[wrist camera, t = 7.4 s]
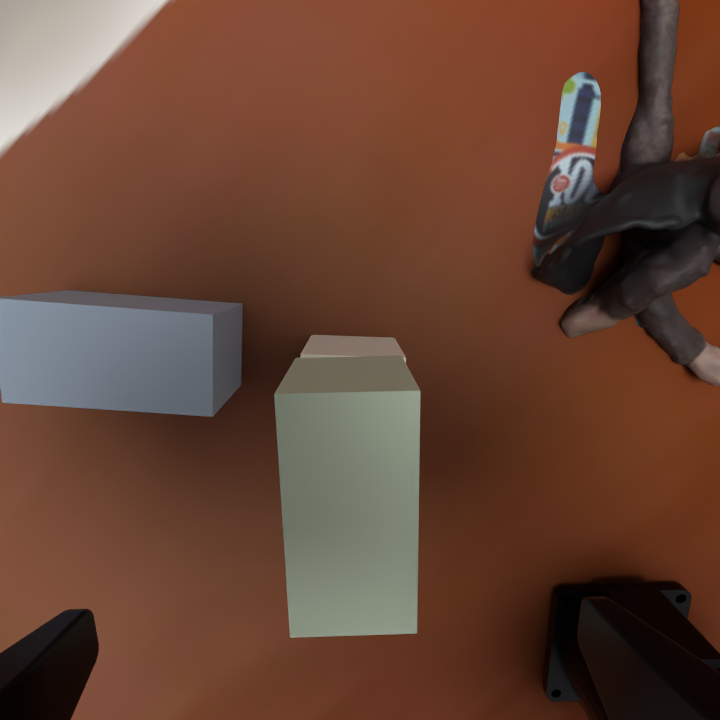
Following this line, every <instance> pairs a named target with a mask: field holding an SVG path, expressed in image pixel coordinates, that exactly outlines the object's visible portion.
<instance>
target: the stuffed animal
mask: <svg viewBox="0 0 720 720" xmlns="http://www.w3.org/2000/svg"><path fill="white" fill-rule="evenodd" d="M679 11H680V7H679V0H641V37H640V44H639V66H640V73H639V100H638V104H637V108H636V111H635V114H634V116H633V119H632V121H631V124H630V126H629V129H628V132H627V134H626V136H625V140H624V142H623V145H622V149H621V157H620V167H619V175H618V177H617V179H616V180H615V182H614V183H613V184H612V187H611V191H610V194H608V195H605V194H603V193H601V192H600V191H599V190H598V189H597V187H596V185H595V183H594V179H593V166H594V160H595V153H596V143H597V130H598V125H599V118H600V108H601V94H600V89H599V86H598V84H597V82H596V80H595V78H594V77H593V76H591V75H590V74H589V73H586V72H580V73H577V74H575V75H574V76H573V77H571V78H570V79H569V80H568V81H567V82H566V83H565V85H564V88H563V92H562V99H561V109H560V117H559V126H558V134H557V144H556V148H555V152H554V156H553V160H552V164H551V167H550V170H549V173H548V176H547V180H546V183H545V187H544V190H543V194H542V198H541V201H540V205H539V209H538V214H537V219H536V225H535V231H534V239H533V258H534V262H535V264H536V266H535V267H534V268H533V269H532V271H531V273H532V275H533V276H534V277H536V278H538V279H540V280H542V281H544V282H546V283H548V284H550V285H553V286H555V287H556V288H557V289H558V290H560V291H561V292H562V293H564V294H567V295H573V294H576V293H578V292H580V291H581V290H583V289H584V288H585V286H586V285H587V283H588V282H589V280H590V278H591V275H592V273H593V269H594V264H595V261H596V258H597V256H598V254H599V252H600V250H601V248H602V245H603V242H604V239H605V236H606V235H610V234H614V233H618V232H621V231H624V232H623V236H622V257H623V265H624V266H622V267H621V268H620V269H619V270H618V271H617V272H616V273H615V274H614V275H613V276H612V277H611V278H609V279H608V280H607V281H606V282H605V283H604V284H602V285H601V286H600V287H598V288H597V289H596V290H595V291H593V292H592V293H590V294H588V295H587V296H585V297H583V298H580V299H578V300H577V301H575V302H574V303H573V304H572V305H571V306H570V307H569V308H568V309H567V310H566V312H565V313H564V315H563V318H562V320H561V326H562V328H563V330H564V332H565V334H566V335H567V336H568V337H577V336H580V335H583V334H586V333H589V332H593V331H597V330H600V329H604V328H610V327H612V326H614V325H615V324H616V323H617V322H619V321H620V320H623V319H625V318H628V317H630V316H632V315H634V316H635V319H636V324H637V325H638V326H640V327H643V328H645V329H646V330H647V332H648V333H649V334H650V335H651V336H652V337H653V338H654V339H655V340H656V341H657V342H658V343H659V344H660V345H661V347H662V348H663V349H664V350H665V351H666V352H667V353H668V354H669V355H670V356H671V358H672V359H673V360H674V362H676V363H677V364H682V365H686V366H688V367H689V368H690V369H691V370H692V371H693V372H694V373H695V374H696V375H697V376H698V378H700V379H701V380H702V381H704V382H706V383H708V384H710V385H713V386H718V385H720V348H719V347H717V346H714V345H711V344H708V343H707V342H706V341H705V338H704V336H703V335H702V334H701V333H700V332H699V331H698V330H697V329H695V328H693V327H691V326H690V325H689V323H688V322H687V321H686V319H685V318H684V317H683V316H682V315H681V314H680V312H679V311H678V309H677V307H676V305H675V303H674V300H673V297H672V295H671V292H673V291H676V290H679V289H682V288H685V287H687V286H689V285H691V284H692V283H694V282H695V281H697V280H698V279H699V278H701V277H704V276H706V275H707V274H708V273H709V271H710V266H711V264H712V262H713V260H715V261H717V262H718V263H719V264H720V150H719V151H718V144H719V142H720V127H715V128H713V129H711V130H709V131H707V132H706V133H705V134H704V136H703V138H702V141H701V145H700V150H699V152H698V153H697V154H696V155H695V156H693V157H689V156H687V154H685V153H684V152H683V153H681V154H679V155H678V157H677V158H676V160H675V162H670V159H671V154H672V149H673V142H674V134H673V128H674V117H673V113H672V103H673V101H672V96H671V88H672V81H673V70H674V64H675V58H676V49H677V42H676V36H677V27H678V19H679Z"/></svg>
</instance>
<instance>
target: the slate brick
mask: <svg viewBox="0 0 720 720" xmlns="http://www.w3.org/2000/svg"><path fill="white" fill-rule="evenodd" d="M242 314H243V304H242V303H229V302H216V301H203V300H190V299H177V298H164V297H151V296H137V295H124V294H111V293H98V292H85V291H72V290H66V291H56V292H46V293H35V294H25V295H15V296H4V297H0V388H1V397H2V403H15V404H30V405H45V406H60V407H75V408H90V409H105V410H120V411H134V412H149V413H164V414H179V415H194V416H209V417H213V416H214V415H215V414H216V412H217V411H218V410H219V409H220V408H221V407H222V406H223V405H224V404H225V403H226V401H227V400H228V399H229V398H230V397H231V396H232V395H233V394H234V393H235V391H236V390H237V389H238V388H239V387H240V386H241V369H242Z"/></svg>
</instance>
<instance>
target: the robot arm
mask: <svg viewBox="0 0 720 720" xmlns="http://www.w3.org/2000/svg"><path fill="white" fill-rule="evenodd" d="M565 597H567V598H566V599H563V598H565ZM690 603H691V594H690V592H689V591H688V590H687V589H686V588H685V587H683V586H682V585H681V584H638V585H589V586H562V587H559V588H557V589H556V590H555V591H554V594H553V600H552V609H551V618H550V627H549V636H548V645H547V654H546V663H545V672H544V681H543V689H544V692H545V694H546V696H547V698H548V699H549V700H551V701H580V703H581V705H582V707H583V709H584V711H585V713H586V715H587V717H588V718H589V720H720V653H719V652H718V651H717V650H716V649H715V648H714V647H713V646H712V645H711V644H710V643H709V642H708V641H707V640H706V639H705V637H704V636H703V635H702V634H701V633H700V632H699V631H698V630H697V629H696V628H695V627H694V626H693V625H692V624H691V623H690V622H689V620H688V619H687V618H688V613H689V608H690ZM98 651H99V643H98V638H97V632H96V626H95V621H94V615H93V613H92V611H91V610H88V609H70V610H66V611H64V612H62V613H60V614H59V615H57V616H56V617H54V618H53V619H51V620H50V621H48V622H47V623H45V624H44V625H42V626H41V627H39V628H38V629H36V630H35V631H33V632H32V633H30V634H29V635H27V636H26V637H24V638H23V639H21V640H20V641H18V642H16V643H15V644H13V645H12V646H10V647H9V648H7V649H6V650H4V651H3V652H1V653H0V720H71V718H72V715H73V713H74V711H75V708H76V706H77V704H78V702H79V699H80V697H81V695H82V692H83V690H84V688H85V685H86V683H87V681H88V679H89V676H90V674H91V672H92V669H93V667H94V665H95V662H96V660H97V656H98Z"/></svg>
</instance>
